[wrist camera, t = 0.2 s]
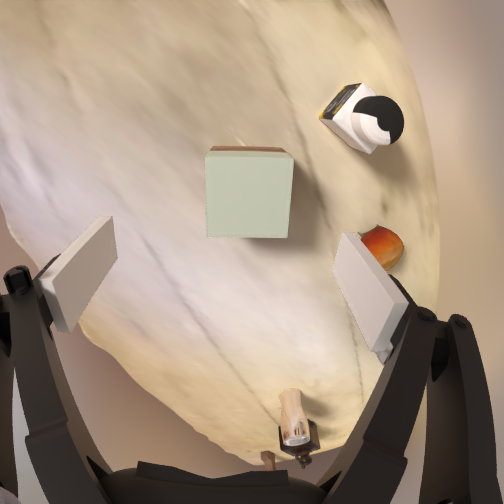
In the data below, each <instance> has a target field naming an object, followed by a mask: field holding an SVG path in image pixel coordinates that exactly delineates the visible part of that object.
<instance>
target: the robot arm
mask: <svg viewBox="0 0 504 504" xmlns="http://www.w3.org/2000/svg"><path fill="white" fill-rule="evenodd" d="M117 258H118V257H117V250H116V243H115V235H114V226H113V216H100V217H99V218H98V219H97V220H96V221H95V222H94V223H92V224H91V225H90V226H89V227H88V228H87V229H86V230H85V231H84V232H83V233H82V234H81V235H80V236H79V237H78V238H77V239H76V240H75V241H74V242H73V243H72V244H71V245H70V246H69V247H68V248H67V249H66V250H65V251H64V252H63V253H62V254H59V255H57V256H56V257H54V258H53V259H52V260H51V261H50V262H49V263H48V264H47V265H46V266H45V267H44V268H43V270H41V271H40V272H39V274H38V275H37V276H36V277H35V278H34V279H33V280H32V278H31V275H30V272H29V269H28V268H27V267H26V266H16V267H14V268H12V269H10V270H9V271H8V272H6V274H5V275H4V277H3V279H4V282H5V285H6V287H7V290H8V292H9V294H7V295H1V294H0V504H21V503H20V501H19V500H18V482H17V474H16V464H15V456H14V445H13V426H12V398H13V378H14V367H15V372H16V378H17V383H18V388H19V393H20V398H21V402H22V406H23V410H24V415H25V418H26V422H27V425H28V429H29V435H28V436H26V437H25V443H26V447H27V451H28V454H29V456H30V459H31V462H32V465H33V468H34V470H35V473H36V475H37V478H38V480H39V482H40V485H41V487H42V489H43V492H44V494H45V496H46V498H47V500H48V502H49V504H390V502H391V500H392V498H393V496H394V494H395V492H396V489H397V487H398V485H399V483H400V481H401V478H402V476H403V474H404V471H405V469H406V466H407V458H405V457H404V452H405V449H406V446H407V443H408V441H409V438H410V435H411V433H412V430H413V427H414V424H415V421H416V417H417V414H418V411H419V408H420V404H421V401H422V397H423V394H424V390H425V386H426V384H427V426H426V444H425V456H424V466H423V474H422V482H421V488H420V496H419V504H503V501H502V497H501V492H500V487H499V483H498V479H497V468H496V467H497V464H496V443H495V432H494V423H493V415H492V408H491V402H490V396H489V391H488V386H487V381H486V376H485V372H484V368H483V364H482V360H481V356H480V352H479V348H478V345H477V341H476V338H475V335H474V331H473V328H472V325H471V323H470V322H469V321H468V320H467V318H465V317H464V316H461V315H459V314H453V315H451V317H450V318H449V320H448V322H444V321H439V320H437V317H436V315H435V314H434V313H433V312H432V311H431V310H429V309H427V308H424V307H418V306H417V305H416V303H415V302H414V301H413V299H412V298H411V297H410V295H409V294H408V293H407V292H406V290H405V289H404V287H403V286H402V285H401V283H400V282H399V281H398V280H397V279H396V278H394V277H393V276H392V275H390V274H387V273H386V271H385V270H384V269H383V268H382V266H381V265H380V264H379V262H378V261H377V260H376V259H375V257H374V256H373V255H372V254H371V252H370V251H369V250H368V249H367V248H366V246H365V245H364V244H363V243H362V241H361V240H360V239H359V238H358V237H357V235H356V234H355V233H353V232H344V231H342V235H341V239H340V243H339V247H338V251H337V254H336V258H335V262H334V266H333V269H332V274H333V276H334V278H335V280H336V282H337V283H338V285H339V287H340V289H341V291H342V293H343V295H344V297H345V299H346V301H347V303H348V305H349V307H350V310H351V312H352V314H353V316H354V318H355V320H356V322H357V324H358V326H359V328H360V330H361V332H362V335H363V337H364V339H365V341H366V343H367V345H368V348H369V350H370V352H375V351H385V349H386V347H387V345H388V343H389V342H391V344H392V346H393V348H392V350H391V352H390V353H389V355H388V357H387V358H386V360H385V362H384V363H383V364H385V366H384V368H383V370H382V373H381V375H380V377H379V379H378V382H377V384H376V386H375V388H374V390H373V392H372V394H371V396H370V398H369V400H368V402H367V404H366V406H365V408H364V410H363V412H362V414H361V416H360V418H359V420H358V422H357V424H356V425H355V427H354V429H353V431H352V432H351V434H350V436H349V438H348V439H347V441H346V443H345V444H344V446H343V448H342V449H341V451H340V453H339V454H338V456H337V457H336V459H335V461H334V462H333V464H332V465H331V467H330V468H329V469H328V471H327V472H326V473H325V474H324V475H323V477H322V478H321V479H320V480H319V481H318V483H317V484H316V485H314V484H312V483H310V482H307V481H304V480H301V479H298V478H294V477H288V473H287V470H277V471H250V472H246V473H242V474H237V475H232V476H227V477H221V478H215V479H211V478H206V477H203V476H199V475H196V474H193V473H190V472H187V471H184V470H181V469H178V468H175V467H172V466H165V465H158V464H152V463H147V462H142V461H138V465H137V468H129V469H123V470H119V471H116V472H113V471H112V470H111V468H110V467H109V466H108V464H107V463H106V462H105V460H104V459H103V458H102V456H101V454H100V453H99V451H98V449H97V447H96V445H95V443H94V442H93V439H92V437H91V435H90V434H89V431H88V429H87V427H86V425H85V423H84V421H83V418H82V416H81V414H80V412H79V409H78V407H77V405H76V402H75V400H74V397H73V395H72V393H71V390H70V387H69V385H68V382H67V379H66V376H65V374H64V370H63V367H62V364H61V361H60V358H59V355H58V352H57V348H56V345H55V342H54V338H53V334H52V331H51V329H50V325H51V323H52V322H53V321H54V324H55V326H56V328H57V330H58V331H61V332H66V333H71V332H72V330H73V328H74V327H75V325H76V323H77V321H78V320H79V318H80V316H81V315H82V313H83V311H84V310H85V308H86V306H87V305H88V303H89V301H90V300H91V298H92V296H93V295H94V293H95V292H96V290H97V289H98V287H99V285H100V284H101V282H102V281H103V279H104V278H105V276H106V275H107V273H108V272H109V270H110V269H111V267H112V266H113V264H114V263H115V261H116V260H117Z"/></svg>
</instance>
